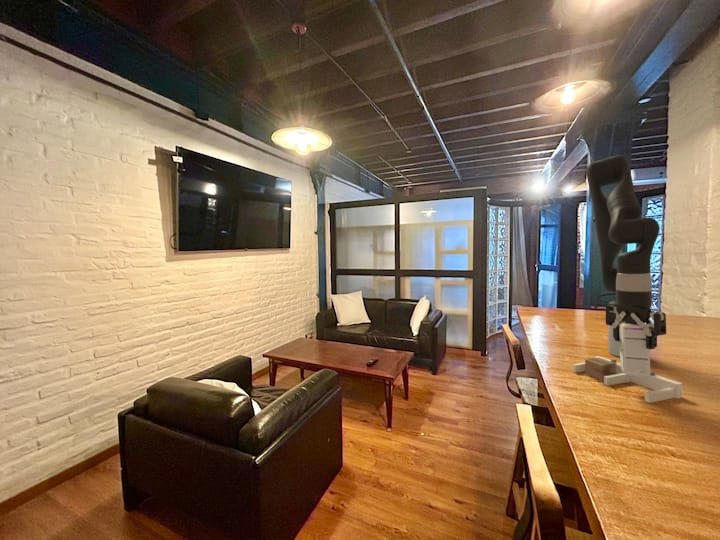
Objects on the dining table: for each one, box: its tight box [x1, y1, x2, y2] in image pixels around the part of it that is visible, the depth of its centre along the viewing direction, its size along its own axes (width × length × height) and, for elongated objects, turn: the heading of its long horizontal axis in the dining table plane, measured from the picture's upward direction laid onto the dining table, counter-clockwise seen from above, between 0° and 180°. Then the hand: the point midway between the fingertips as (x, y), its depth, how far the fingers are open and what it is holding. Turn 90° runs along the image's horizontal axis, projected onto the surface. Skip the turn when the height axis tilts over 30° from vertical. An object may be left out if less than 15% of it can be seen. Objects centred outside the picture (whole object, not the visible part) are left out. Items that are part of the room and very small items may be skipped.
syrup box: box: [619, 322, 651, 377], centre depth 85 cm, size 6×6×14 cm
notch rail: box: [572, 355, 683, 404], centre depth 91 cm, size 11×23×5 cm, turn 12°
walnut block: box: [584, 357, 616, 382], centre depth 96 cm, size 6×6×5 cm
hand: (633, 344), depth 85 cm, fingers closed on syrup box, 8 cm apart
